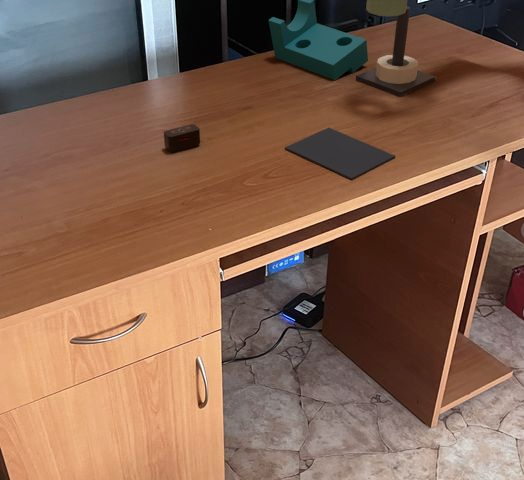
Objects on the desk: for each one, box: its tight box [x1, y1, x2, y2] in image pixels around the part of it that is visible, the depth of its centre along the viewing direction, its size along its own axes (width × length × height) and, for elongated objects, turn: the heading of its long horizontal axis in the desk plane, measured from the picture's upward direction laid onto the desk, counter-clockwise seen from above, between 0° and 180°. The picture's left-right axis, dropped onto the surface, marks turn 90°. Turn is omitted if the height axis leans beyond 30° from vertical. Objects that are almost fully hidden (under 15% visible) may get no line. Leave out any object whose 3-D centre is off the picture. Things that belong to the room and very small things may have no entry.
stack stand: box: [355, 5, 437, 98], centre depth 163 cm, size 12×12×15 cm
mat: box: [284, 127, 396, 181], centre depth 142 cm, size 16×12×1 cm
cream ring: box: [375, 54, 419, 84], centre depth 166 cm, size 8×8×3 cm
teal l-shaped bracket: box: [268, 0, 369, 81], centre depth 171 cm, size 18×11×10 cm, turn 44°
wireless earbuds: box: [163, 123, 201, 153], centre depth 143 cm, size 5×7×3 cm, turn 122°
